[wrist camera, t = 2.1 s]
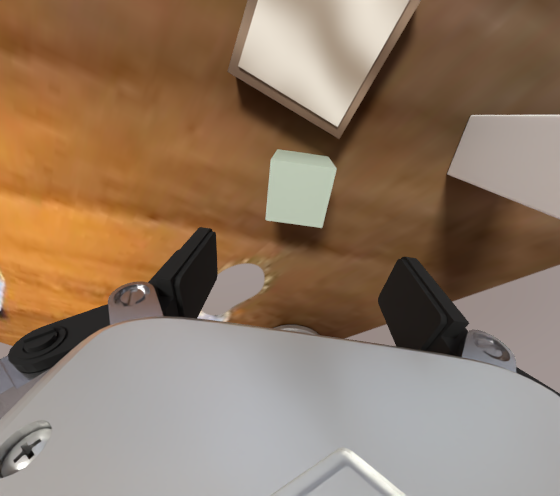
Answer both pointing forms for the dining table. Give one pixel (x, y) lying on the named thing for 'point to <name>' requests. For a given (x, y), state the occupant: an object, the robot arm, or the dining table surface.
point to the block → (299, 188)
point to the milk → (513, 158)
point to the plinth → (317, 53)
